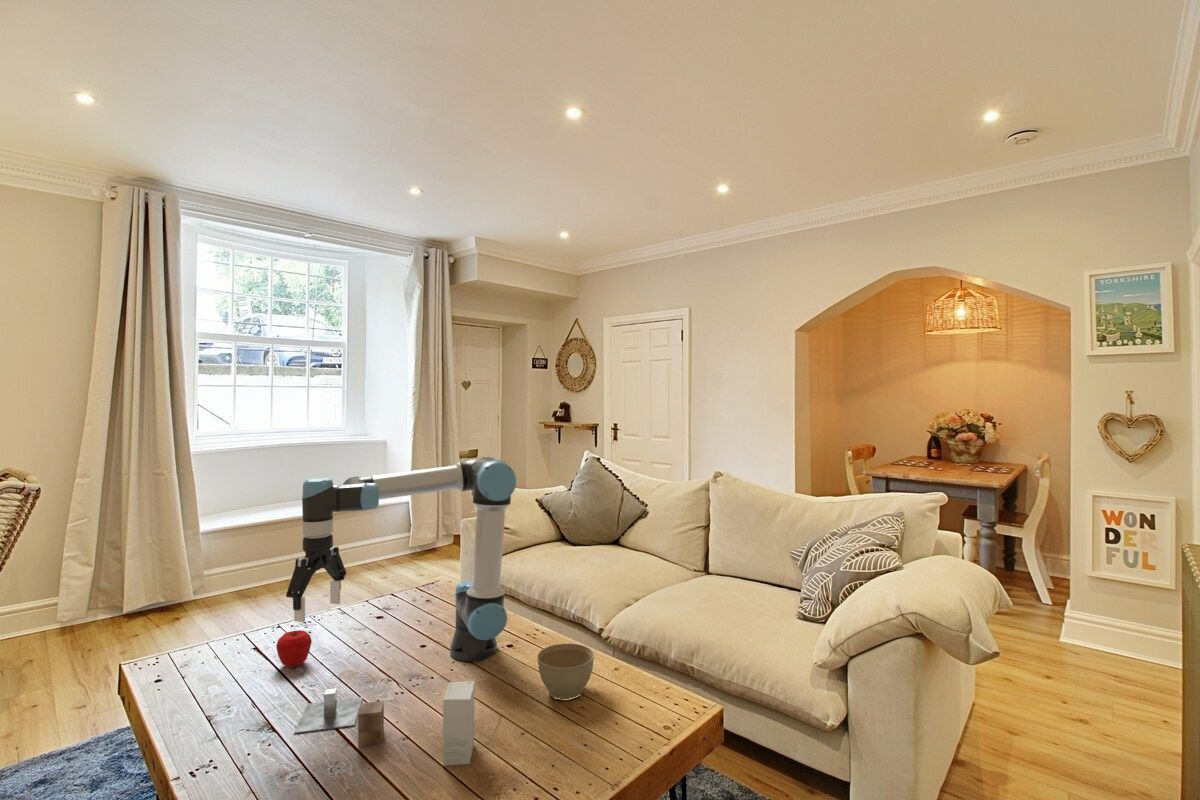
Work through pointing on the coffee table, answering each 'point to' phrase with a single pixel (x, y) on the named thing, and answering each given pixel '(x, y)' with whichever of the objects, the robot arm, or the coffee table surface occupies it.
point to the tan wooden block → (370, 723)
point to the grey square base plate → (329, 713)
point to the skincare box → (458, 723)
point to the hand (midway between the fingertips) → (318, 612)
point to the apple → (293, 648)
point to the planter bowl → (565, 669)
